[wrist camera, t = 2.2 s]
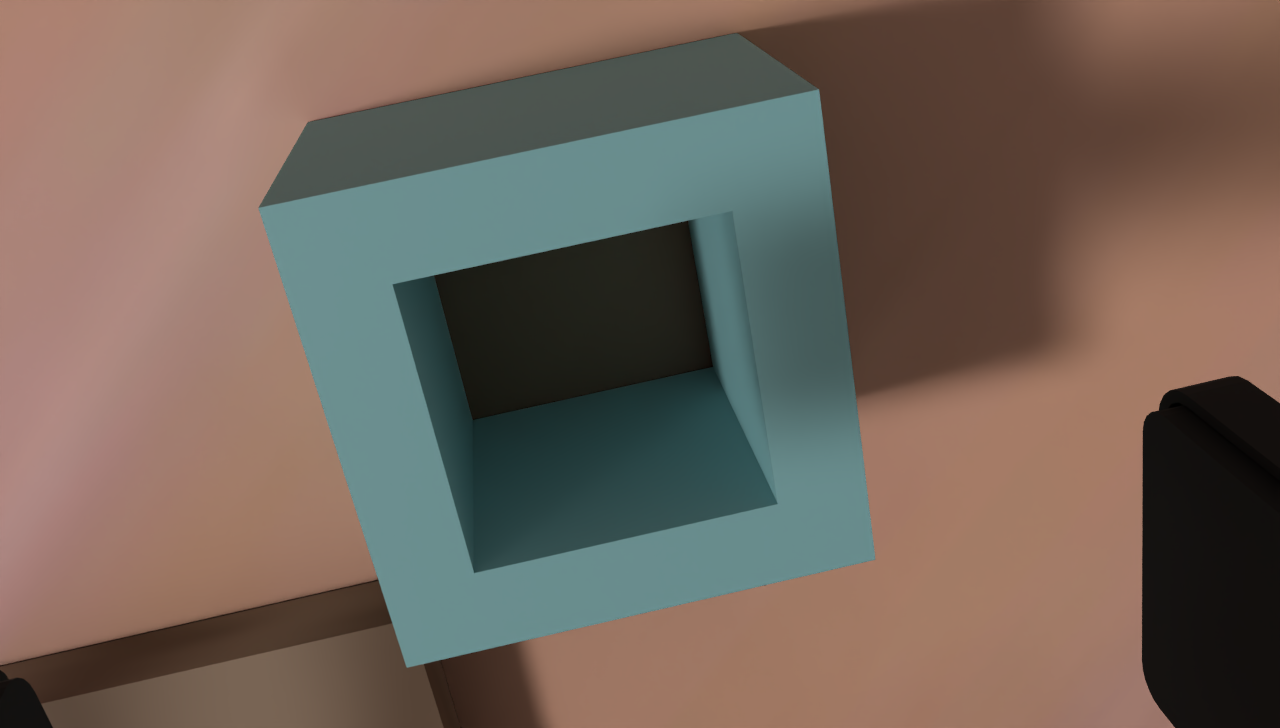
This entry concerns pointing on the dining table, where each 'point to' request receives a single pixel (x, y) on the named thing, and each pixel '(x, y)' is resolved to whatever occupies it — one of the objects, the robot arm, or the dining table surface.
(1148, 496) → the robot arm
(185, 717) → the post base
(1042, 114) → the dining table surface
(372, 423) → the collar
